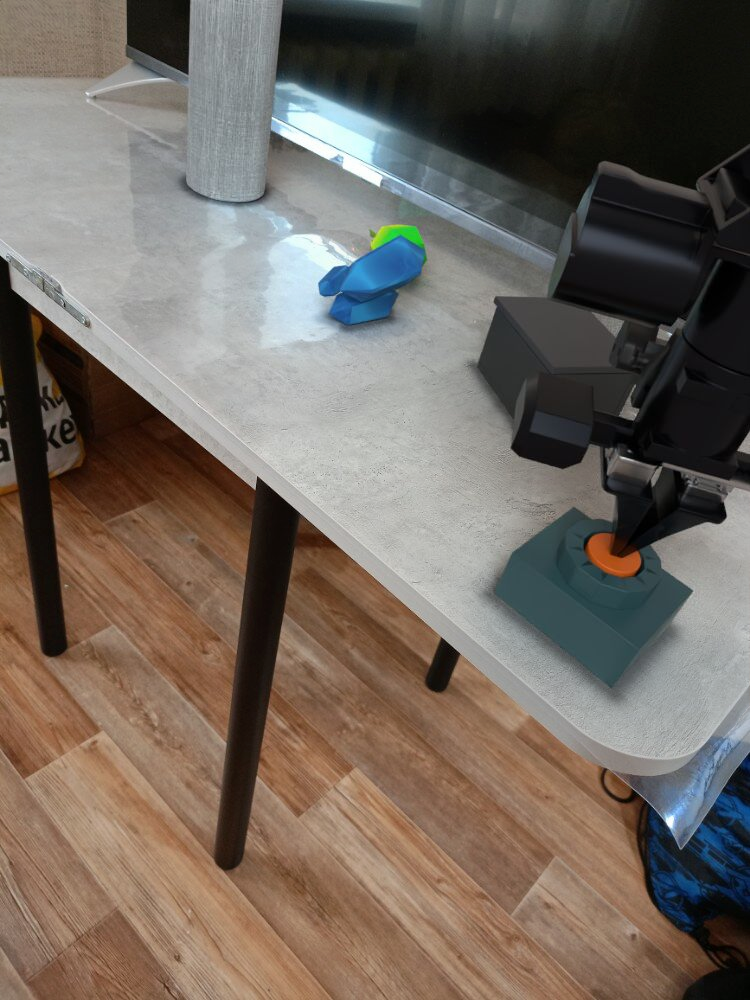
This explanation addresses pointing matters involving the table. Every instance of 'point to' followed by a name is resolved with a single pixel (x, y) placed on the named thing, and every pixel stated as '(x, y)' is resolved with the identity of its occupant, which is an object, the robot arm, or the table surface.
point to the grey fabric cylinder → (231, 96)
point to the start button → (611, 557)
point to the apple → (392, 232)
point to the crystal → (372, 281)
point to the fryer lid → (560, 334)
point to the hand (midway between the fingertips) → (615, 552)
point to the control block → (590, 596)
